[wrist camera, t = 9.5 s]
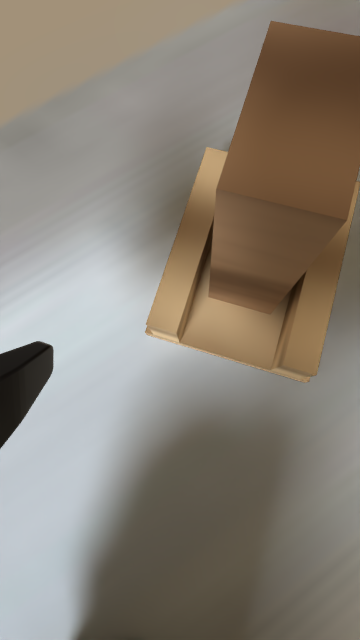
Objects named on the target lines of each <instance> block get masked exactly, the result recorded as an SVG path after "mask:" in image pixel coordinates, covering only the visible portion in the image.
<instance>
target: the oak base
mask: <svg viewBox="0 0 360 640" xmlns="http://www.w3.org/2000/svg"><path fill="white" fill-rule="evenodd" d="M227 154H228V152H226V151H221V150H217V149H212V148H208V147H206V150H205V153H204V156H203V159H202V162H201V165H200V168H199V171H198V174H197V177H196V180H195V182H194V185H193V188H192V191H191V194H190V197H189V200H188V203H187V206H186V209H185V212H184V215H183V217H182V220H181V223H180V226H179V229H178V232H177V235H176V238H175V241H174V244H173V247H172V250H171V252H170V255H169V258H168V261H167V264H166V267H165V270H164V273H163V276H162V279H161V282H160V285H159V287H158V290H157V293H156V296H155V299H154V302H153V305H152V308H151V311H150V314H149V317H148V320H147V322H146V325H147V328H146V331H145V333H146V334H147V335H149V336H153V337H156V338H159V339H162V340H166V341H169V342H172V343H176V344H179V345H182V346H185V347H189V348H192V349H195V350H199V351H202V352H205V353H209V354H212V355H215V356H218V357H222V358H225V359H228V360H232V361H235V362H238V363H241V364H245V365H248V366H251V367H255V368H258V369H261V370H265V371H268V372H271V373H274V374H278V375H281V376H284V377H288V378H291V379H294V380H297V381H301V382H304V383H305V382H309V379H310V377H311V376H315V375H317V371H318V367H319V362H320V358H321V353H322V349H323V345H324V340H325V336H326V331H327V327H328V323H329V318H330V314H331V310H332V305H333V301H334V296H335V292H336V288H337V283H338V279H339V274H340V270H341V266H342V261H343V257H344V253H345V248H346V244H347V239H348V235H349V231H350V226H351V222H352V217H353V213H354V209H355V204H356V200H357V196H358V191H359V187H360V182H358V181H356V184H355V189H354V193H353V197H352V202H351V206H350V210H349V215H348V219H347V221H346V222H345V224H344V225H343V226H342V227H341V228H340V230H339V231H338V232H337V233H336V235H335V236H334V237H333V238H332V240H331V241H330V242H329V243H328V244H327V246H326V247H325V248H324V249H323V251H322V252H321V253H320V254H319V255H318V257H317V258H316V259H315V260H314V262H313V263H312V264H311V265H310V267H309V268H308V269H307V270H306V271H305V273H304V274H303V275H302V276H301V278H300V279H299V280H298V281H297V282H296V284H295V285H294V286H293V287H292V289H291V290H290V291H289V292H288V293H287V295H286V296H285V297H284V298H283V300H282V301H281V302H280V303H279V305H278V306H277V307H276V308H275V309H274V311H273V312H272V313H271V314H266V313H263V312H259V311H256V310H252V309H249V308H245V307H242V306H238V305H234V304H231V303H227V302H224V301H220V300H217V299H213V298H210V297H208V294H209V280H210V266H211V253H212V239H213V226H214V212H215V199H216V188H217V185H218V182H219V179H220V176H221V173H222V170H223V166H224V163H225V160H226V157H227Z"/></svg>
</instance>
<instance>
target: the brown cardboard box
mask: <svg viewBox="0 0 360 640" xmlns="http://www.w3.org/2000/svg"><path fill="white" fill-rule="evenodd" d="M359 167H360V36H354V35H348V34H343V33H337V32H331V31H326V30H320V29H314V28H308V27H303V26H297V25H291V24H285V23H280V22H274V21H271V22H270V25H269V28H268V31H267V35H266V38H265V41H264V44H263V47H262V50H261V53H260V56H259V59H258V62H257V65H256V68H255V71H254V74H253V77H252V81H251V84H250V87H249V90H248V93H247V96H246V99H245V102H244V105H243V108H242V111H241V114H240V117H239V120H238V123H237V127H236V130H235V133H234V136H233V139H232V142H231V145H230V148H229V151H228V154H227V157H226V160H225V163H224V166H223V170H222V173H221V176H220V179H219V182H218V185H217V188H216V199H215V212H214V226H213V239H212V253H211V266H210V280H209V294H208V297H210V298H213V299H217V300H220V301H224V302H227V303H231V304H234V305H238V306H242V307H245V308H249V309H252V310H256V311H259V312H263V313H266V314H271V313H272V312H273V311H274V309H275V308H276V307H277V306H278V305H279V303H280V302H281V301H282V300H283V298H284V297H285V296H286V295H287V293H288V292H289V291H290V290H291V289H292V287H293V286H294V285H295V284H296V282H297V281H298V280H299V279H300V278H301V276H302V275H303V274H304V273H305V271H306V270H307V269H308V268H309V267H310V265H311V264H312V263H313V262H314V260H315V259H316V258H317V257H318V255H319V254H320V253H321V252H322V251H323V249H324V248H325V247H326V246H327V244H328V243H329V242H330V241H331V240H332V238H333V237H334V236H335V235H336V233H337V232H338V231H339V230H340V228H341V227H342V226H343V225H344V224H345V222H346V221H347V219H348V215H349V210H350V206H351V202H352V197H353V193H354V189H355V184H356V180H357V176H358V171H359Z"/></svg>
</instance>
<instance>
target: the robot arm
mask: <svg viewBox="0 0 360 640" xmlns="http://www.w3.org/2000/svg"><path fill="white" fill-rule="evenodd" d="M52 371H53V347H52V346H51V345H50V344H47V343H44V342H40V341H37V342H33V343H31V344H28V345H25V346H22V347H19V348H16V349H13V350H11V351H8V352H5V353H2V354H0V449H1V447H2V446H3V445H4V443H5V442H6V441H7V440H8V438H9V437H10V436H11V435H12V433H13V432H14V431H15V430H16V428H17V427H18V426H19V424H20V423H21V422H22V420H23V419H24V417H25V416H26V414H27V413H28V411H29V409H30V408H31V406H32V405H33V403H34V401H35V400H36V398H37V397H38V395H39V393H40V392H41V390H42V389H43V387H44V386H45V384H46V382H47V381H48V379H49V378H50V376H51V374H52Z"/></svg>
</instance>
